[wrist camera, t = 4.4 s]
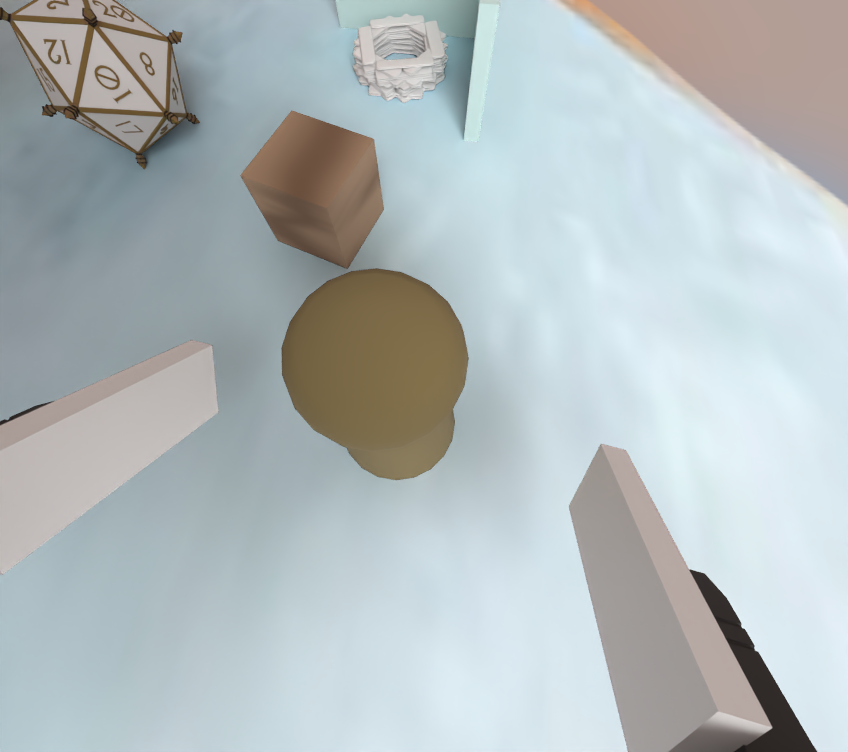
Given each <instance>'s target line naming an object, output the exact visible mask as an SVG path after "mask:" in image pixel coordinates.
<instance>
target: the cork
mask: <svg viewBox="0 0 848 752" xmlns="http://www.w3.org/2000/svg"><path fill="white" fill-rule="evenodd" d="M467 365H468V352H467V347H466V342H465V337H464V332H463V329H462V326H461V324H460V322H459V320H458V318H457V317H456V315H455V313H454V311H453V310H452V308H451V306H450V304H449V303H448V302H447V301H446V300H445V299H444V298H443V297H442V296H441V295H440V294H438V293H437V292H436V291H435V290H434V289H433V288H432V287H431V286H430V285H428V284H426V283H424V282H422V281H419V280H417V279H415V278H413V277H411V276H409V275H406V274H404V273H402V272H396V271H390V270H383V269H368V270H359V271H351V272H349V273H346V274H344V275H341V276H339V277H336V278H334V279H332V280H329V281H327V282H326V283H325V284H323V285H322V286H321V287H319V288H318V289H317V290H316V291H314V292H313V293H312V294H310V295H309V296H308V297H307V298H306V300H305V301H304V303H303V304H302V305H301V307H300V308H299V310H298V311H297V312H296V314H295V315H294V317H293V318H292V320H291V321H290V323H289V326H288V329H287V332H286V336H285V339H284V342H283V345H282V376H283V379H284V382H285V384H286V387H287V389H288V392H289V395H290V397H291V400H292V402H293V405H294V407H295V409H296V410H297V411H298V413H299V414H300V415H301V416H302V417H303V418H304V419H305V421H306V422H307V423H308V424H309V425H310V426H311V427H312V428H313V430H315V431H316V432H318V433H320V434H322V435H324V436H325V437H327V438H329V439H331V440H333V441H334V442H336V443H338V444H340V445H342V446H344V447H347V449H348V451H349V454H350V455H351V456H352V457H353V458H354V460H355V461H356V462H357V463H358V464H359V465H360V466H361V467H362V468H363V469H365V470H367V471H368V472H370V473H372V474H374V475H376V476H377V477H382V478H387V479H393V480H400V479H407V478H413V477H416V476H418V475H420V474H422V473H424V472H426V471H428V470H430V469H431V468H432V467H433V466H434V465H435V464H436V463H437V462H438V461H439V460H440V459H441V458H442V457H443V456H444V455H445V453H446V451H447V449H448V447H449V445H450V443H451V441H452V438H453V431H454V424H455V420H454V414H453V408H454V406H455V404H456V402H457V400H458V398H459V396H460V394H461V392H462V390H463V388H464V385H465V379H466V372H467Z"/></svg>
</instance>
